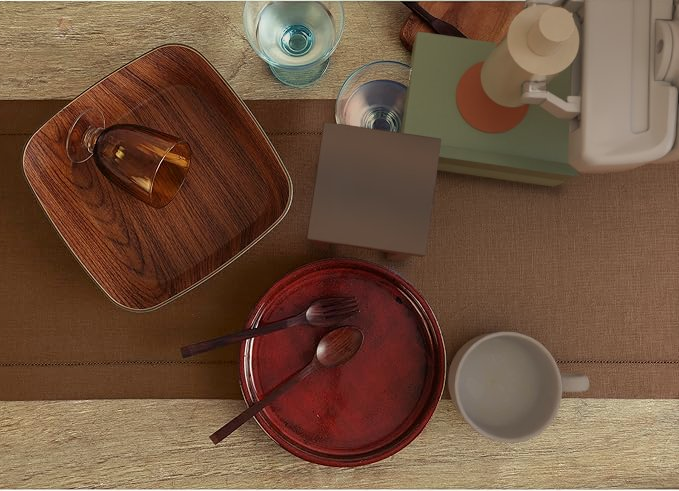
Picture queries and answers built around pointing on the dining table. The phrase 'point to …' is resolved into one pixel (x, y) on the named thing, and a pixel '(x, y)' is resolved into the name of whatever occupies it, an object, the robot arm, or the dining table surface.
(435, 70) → the green block orange circle
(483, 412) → the teacup
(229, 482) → the dining table surface
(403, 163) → the stand
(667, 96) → the robot arm
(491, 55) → the bottle
